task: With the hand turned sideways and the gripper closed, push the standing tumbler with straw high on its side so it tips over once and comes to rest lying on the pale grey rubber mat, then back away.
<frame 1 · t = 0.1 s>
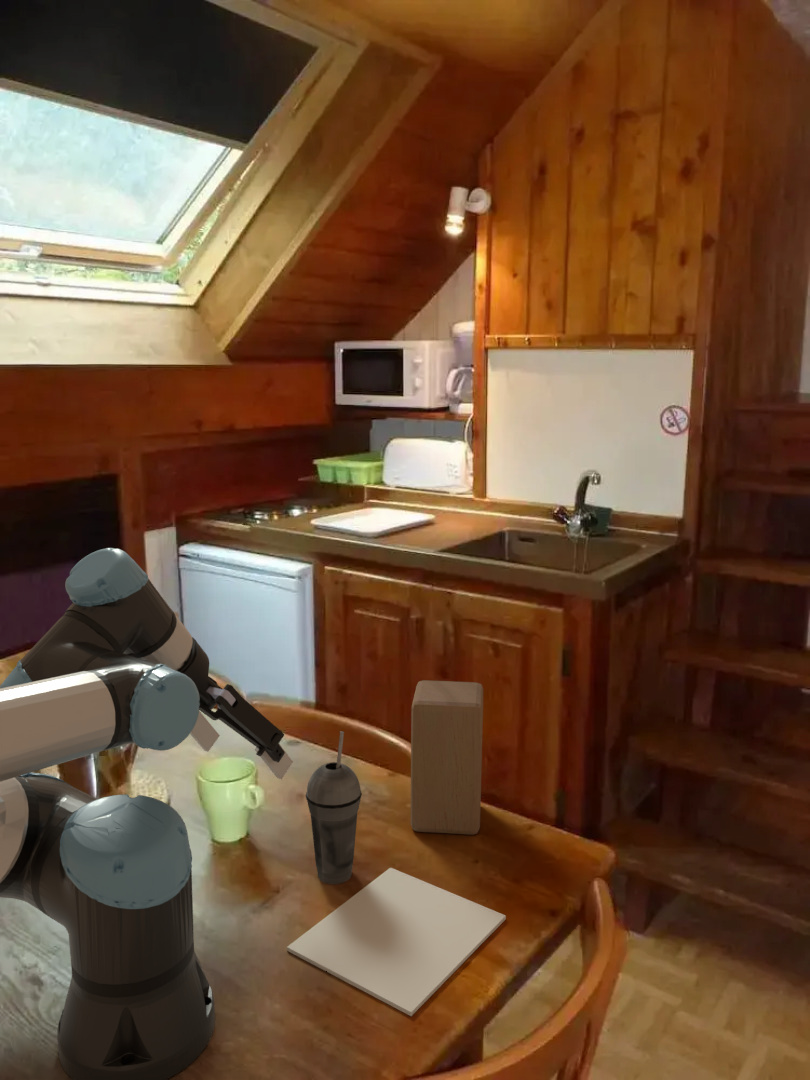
hand: (247, 756, 116), 15 cm above the table, tool tilted 35°, fingers open, 13 cm apart
tumbler with straw: (334, 875, 116), on the table
mat: (399, 934, 104), on the table
block: (446, 819, 131), on the table
decorative jar: (125, 700, 175), on the table
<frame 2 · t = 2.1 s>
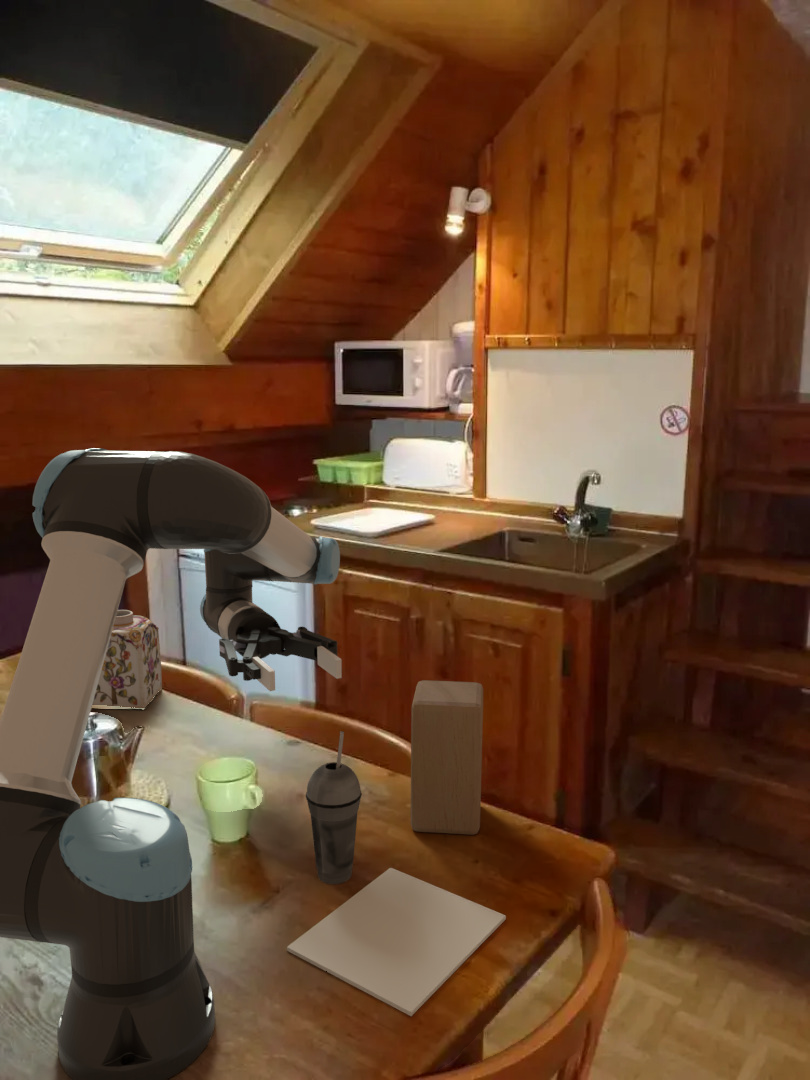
hand: (306, 674, 118), 25 cm above the table, tool horizontal, fingers open, 9 cm apart
nothing on the table moved.
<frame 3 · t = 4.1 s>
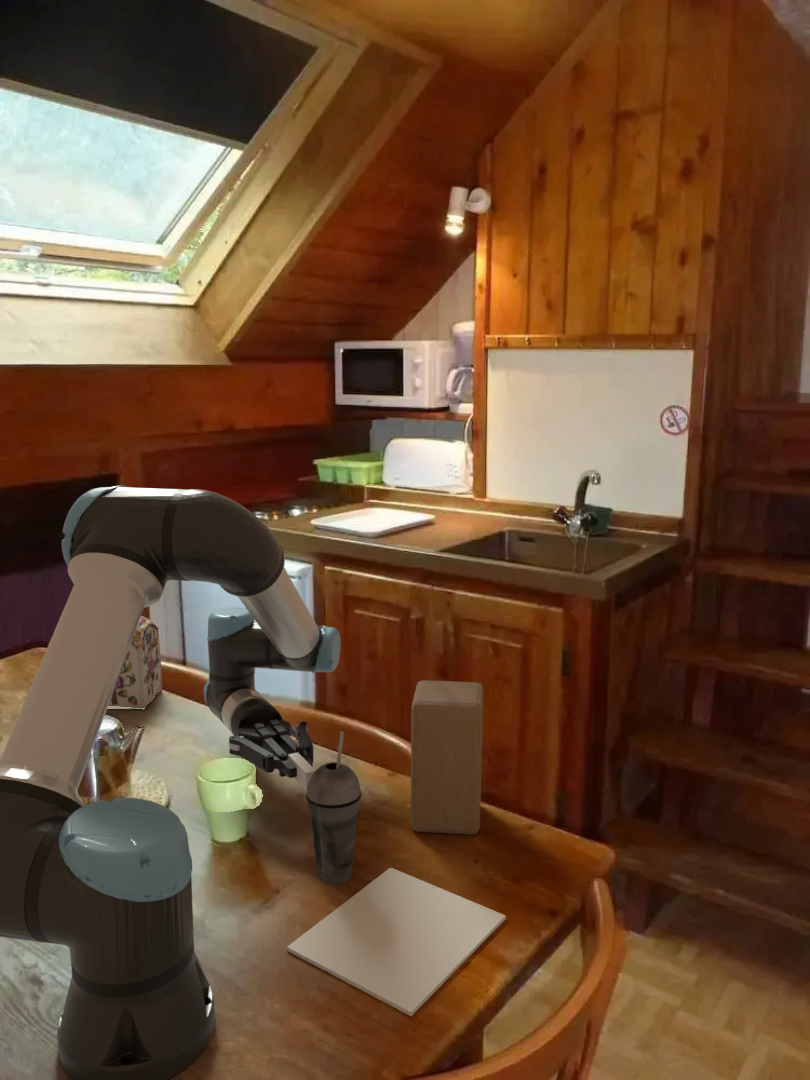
hand: (311, 780, 120), 10 cm above the table, tool horizontal, fingers closed
nothing on the table moved.
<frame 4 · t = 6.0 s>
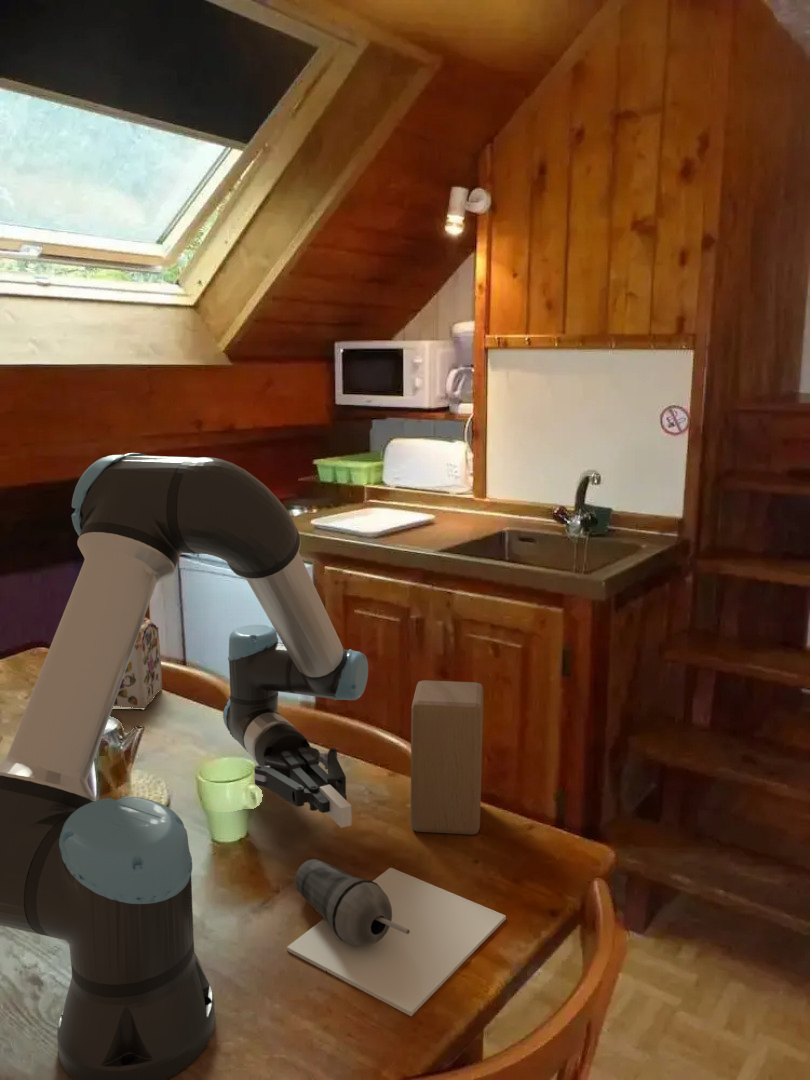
hand: (346, 816, 111), 10 cm above the table, tool horizontal, fingers closed
tumbler with straw: (309, 876, 111), point 3 cm above the table, touching mat
everything else where it was.
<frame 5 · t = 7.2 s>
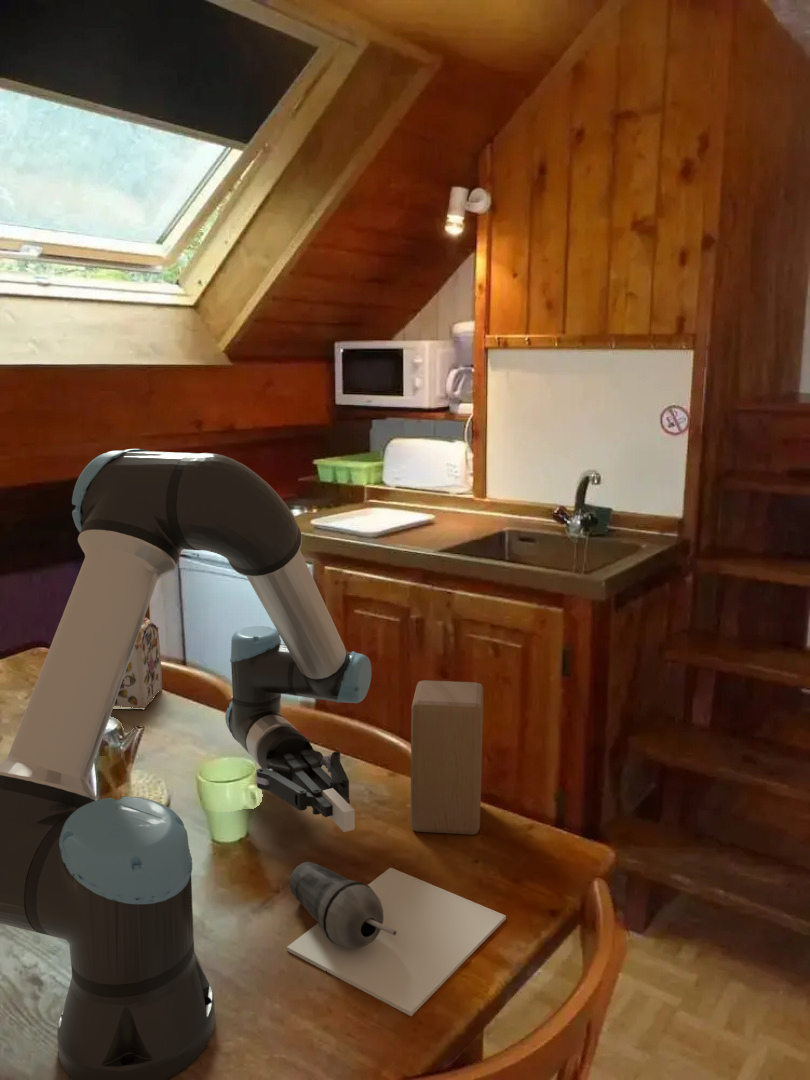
hand: (349, 820, 110), 10 cm above the table, tool horizontal, fingers closed
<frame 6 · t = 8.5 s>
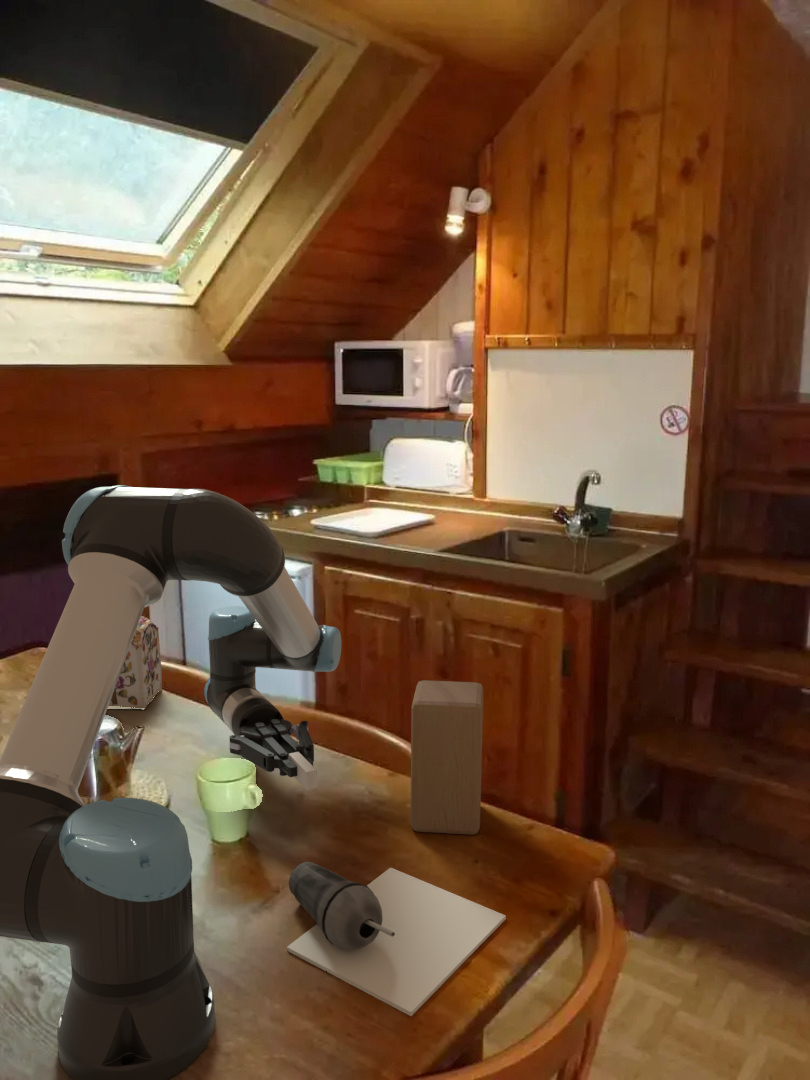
hand: (311, 780, 120), 10 cm above the table, tool horizontal, fingers closed
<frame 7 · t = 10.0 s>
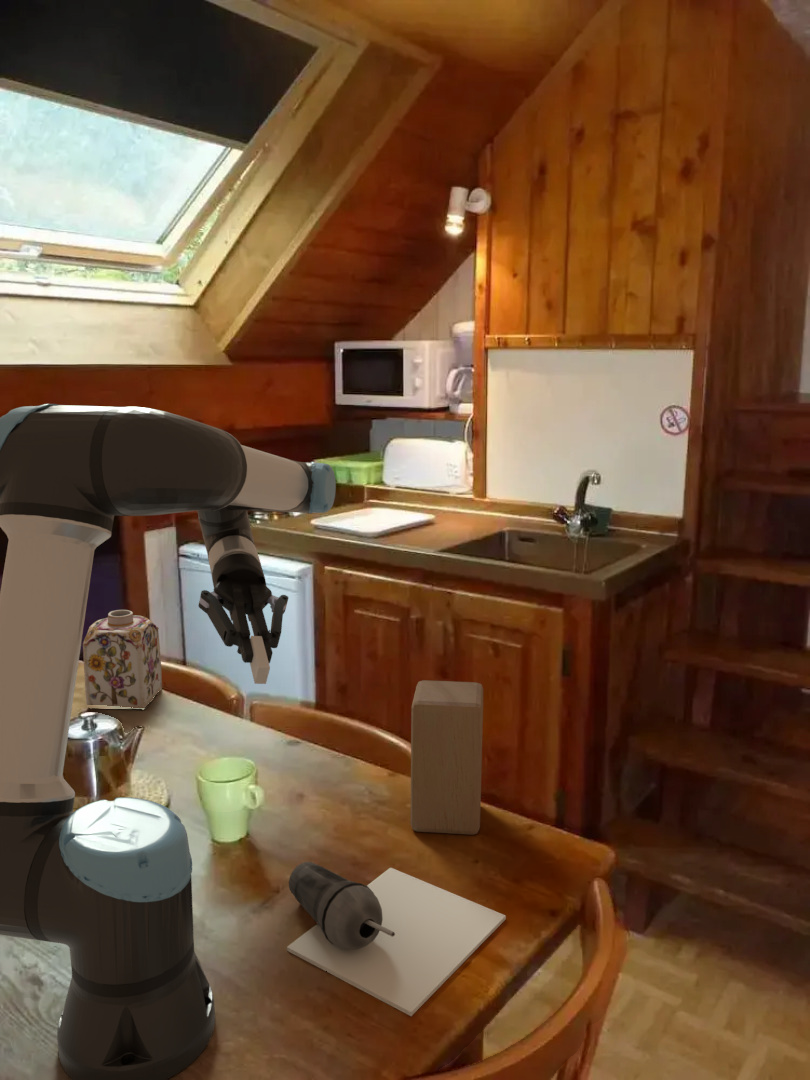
hand: (262, 675, 113), 27 cm above the table, tool tilted 70°, fingers closed
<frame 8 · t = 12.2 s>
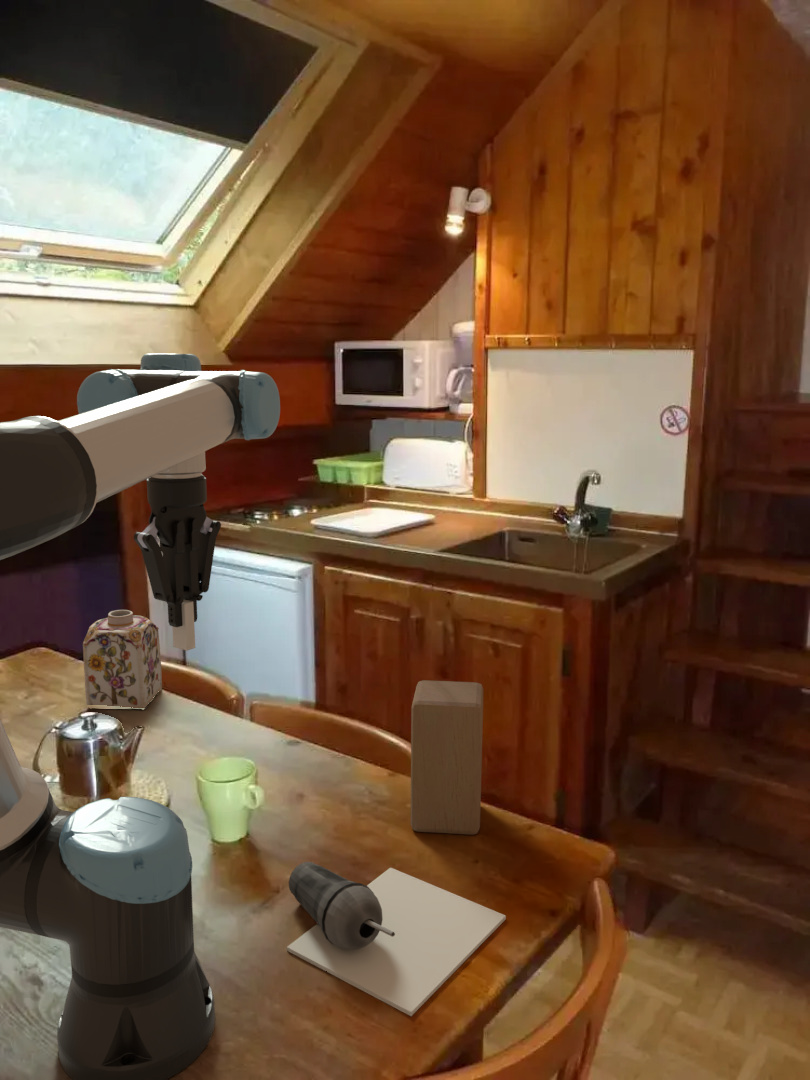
hand: (184, 647, 119), 28 cm above the table, tool pointing down, fingers closed
at the end: tumbler with straw tilted 82°; tumbler with straw touching mat; tumbler with straw inside the target area (10.0 cm from its centre), point 2.5 cm above the table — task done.
